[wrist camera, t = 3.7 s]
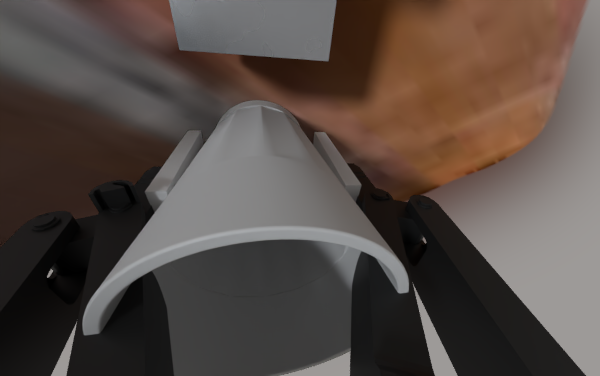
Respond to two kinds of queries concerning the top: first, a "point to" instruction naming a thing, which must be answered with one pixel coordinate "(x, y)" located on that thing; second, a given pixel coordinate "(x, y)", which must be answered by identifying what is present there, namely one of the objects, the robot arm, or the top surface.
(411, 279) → the robot arm
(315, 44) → the grey rectangular slab
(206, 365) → the cup
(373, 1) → the top surface
